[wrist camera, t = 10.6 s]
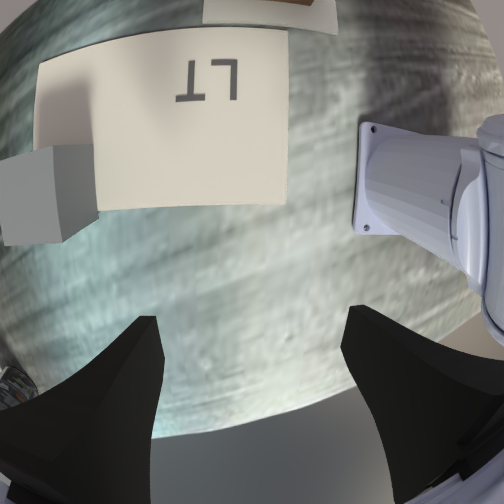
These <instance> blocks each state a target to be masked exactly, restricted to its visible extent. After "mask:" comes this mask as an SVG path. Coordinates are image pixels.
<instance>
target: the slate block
mask: <svg viewBox="0 0 504 504" xmlns="http://www.w3.org/2000/svg"><path fill="white" fill-rule="evenodd" d="M97 219H99V216H98V208H97V198H96V186H95V170H94V144H90V145H53V146H49V147H45V148H41V149H38V150H34V151H31V152H27V153H24V154H20V155H17V156H14V157H11V158H8V159H5V160H2V161H0V224H1V230H2V235H3V240H4V245H5V246H14V245H30V244H46V243H63V242H64V241H66V240H67V239H69V238H70V237H71V236H73V235H74V234H76V233H77V232H79V231H80V230H82V229H83V228H85V227H86V226H88V225H89V224H91V223H92V222H94V221H96V220H97Z"/></svg>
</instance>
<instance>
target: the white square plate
mask: <svg viewBox="0 0 504 504" xmlns="http://www.w3.org/2000/svg"><path fill="white" fill-rule="evenodd" d="M202 22H203V24H208V23H243V24H262V25H274V26H283V27H291V28H299V29H305V30H311V31H317V32H322V33H327V34H332V35H337V34H338V22H337V12H336V3H335V0H314V2H313V3H312V4H311V6H306V5H300V4H293V3H285V2H276V1H265V0H204V7H203V19H202Z"/></svg>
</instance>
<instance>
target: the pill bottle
mask: <svg viewBox="0 0 504 504" xmlns="http://www.w3.org/2000/svg"><path fill="white" fill-rule="evenodd" d="M37 396H38V392H37V389H36V388H35V386H34V385H33V383H32V382H31V381H30V380H29V379H28V378H27V377H26V376H25V375H24V374H23V373H21V372H20V371H19V370H17V369H15V368H13V367H9V366H7V367H5V368H4V369H3V370H2V372H1V373H0V411H1V410H4V409H7V408H10V407H13V406H16V405H18V404H21V403H23V402H26V401H28V400H30V399H32V398H34V397H37Z"/></svg>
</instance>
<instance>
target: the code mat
mask: <svg viewBox="0 0 504 504" xmlns="http://www.w3.org/2000/svg"><path fill="white" fill-rule="evenodd" d="M288 96H289V71H288V31H284V30H275V29H263V28H245V27H207V28H189V29H177V30H168V31H160V32H152V33H146V34H140V35H135V36H129V37H124V38H120V39H115V40H111V41H107V42H103V43H99V44H96V45H92V46H89V47H85V48H82V49H79V50H76V51H73V52H70V53H67V54H64V55H61V56H58V57H56V58H53V59H51V60H48V61H46V62H43V63H41V64H40V65H39V71H38V78H37V86H36V96H35V108H34V131H33V151H34V150H38V149H41V148H45V147H49V146H53V145H90V144H94V170H95V186H96V198H97V208H98V211H106V210H120V209H134V208H150V207H170V206H194V205H232V204H286V189H287V158H288Z"/></svg>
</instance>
